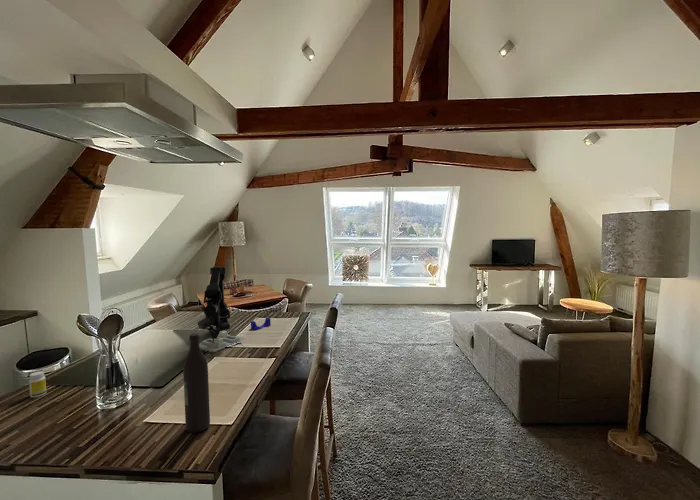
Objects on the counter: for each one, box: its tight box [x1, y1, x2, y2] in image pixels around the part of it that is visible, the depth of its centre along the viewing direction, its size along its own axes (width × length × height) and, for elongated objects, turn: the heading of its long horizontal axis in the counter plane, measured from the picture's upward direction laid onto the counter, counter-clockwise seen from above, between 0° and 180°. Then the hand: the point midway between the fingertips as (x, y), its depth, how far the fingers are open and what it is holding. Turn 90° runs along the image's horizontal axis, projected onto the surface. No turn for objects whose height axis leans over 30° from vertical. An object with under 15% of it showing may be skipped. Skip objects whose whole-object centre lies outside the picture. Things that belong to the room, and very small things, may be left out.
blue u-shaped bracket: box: [250, 316, 272, 331], centre depth 210 cm, size 12×4×6 cm, turn 137°
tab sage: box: [214, 337, 223, 345], centre depth 178 cm, size 4×3×4 cm, turn 60°
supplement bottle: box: [28, 370, 48, 398], centre depth 130 cm, size 5×5×8 cm
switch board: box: [199, 333, 245, 353], centre depth 184 cm, size 16×22×3 cm
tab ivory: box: [218, 330, 228, 338], centre depth 190 cm, size 4×3×4 cm, turn 60°
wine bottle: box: [182, 332, 211, 434], centre depth 107 cm, size 7×7×30 cm
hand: (214, 340), depth 180 cm, fingers closed
